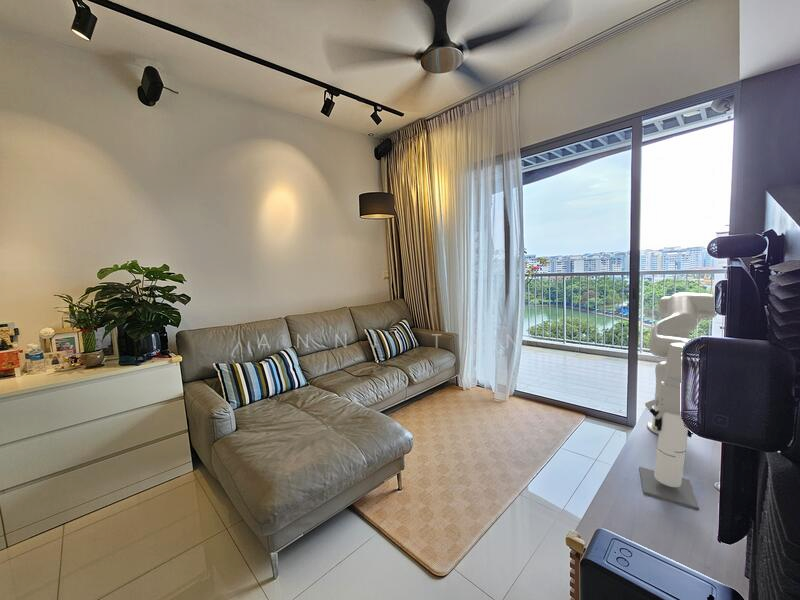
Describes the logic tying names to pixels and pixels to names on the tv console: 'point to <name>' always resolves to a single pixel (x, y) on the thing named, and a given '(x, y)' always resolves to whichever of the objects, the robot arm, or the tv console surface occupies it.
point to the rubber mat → (668, 489)
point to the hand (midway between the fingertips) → (673, 431)
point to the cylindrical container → (671, 450)
